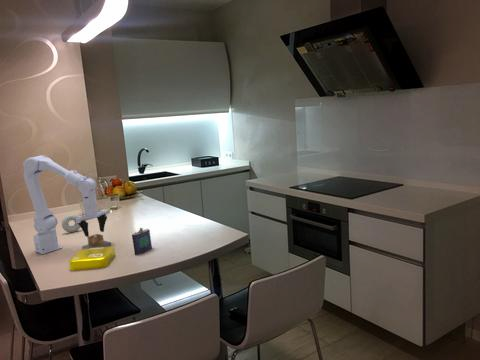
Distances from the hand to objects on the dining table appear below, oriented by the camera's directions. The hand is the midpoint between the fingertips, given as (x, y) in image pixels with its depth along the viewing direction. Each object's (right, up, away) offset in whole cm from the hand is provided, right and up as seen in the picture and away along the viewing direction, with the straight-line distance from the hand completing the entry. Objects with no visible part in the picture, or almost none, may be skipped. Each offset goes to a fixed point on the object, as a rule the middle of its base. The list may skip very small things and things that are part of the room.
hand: (94, 233), depth 188 cm
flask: (+25, -7, -9) cm, 27 cm away
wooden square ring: (0, -5, +1) cm, 5 cm away
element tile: (+6, -10, -18) cm, 21 cm away
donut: (-22, -3, +30) cm, 37 cm away
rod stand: (+1, -6, +1) cm, 7 cm away
